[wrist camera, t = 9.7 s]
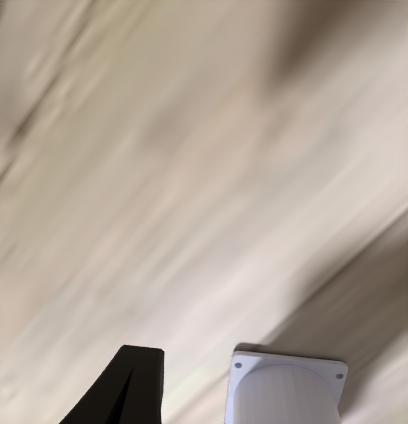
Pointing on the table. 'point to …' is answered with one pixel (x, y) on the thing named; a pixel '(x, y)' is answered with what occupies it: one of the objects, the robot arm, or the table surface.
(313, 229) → the table surface
